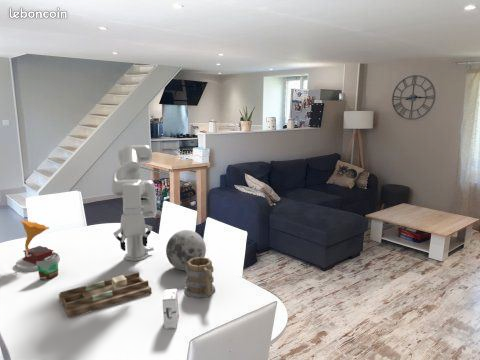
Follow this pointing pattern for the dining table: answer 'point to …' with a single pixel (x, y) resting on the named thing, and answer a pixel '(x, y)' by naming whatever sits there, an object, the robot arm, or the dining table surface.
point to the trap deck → (102, 295)
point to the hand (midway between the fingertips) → (134, 247)
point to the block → (119, 282)
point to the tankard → (199, 277)
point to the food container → (48, 267)
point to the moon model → (184, 248)
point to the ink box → (170, 308)
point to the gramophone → (34, 253)
